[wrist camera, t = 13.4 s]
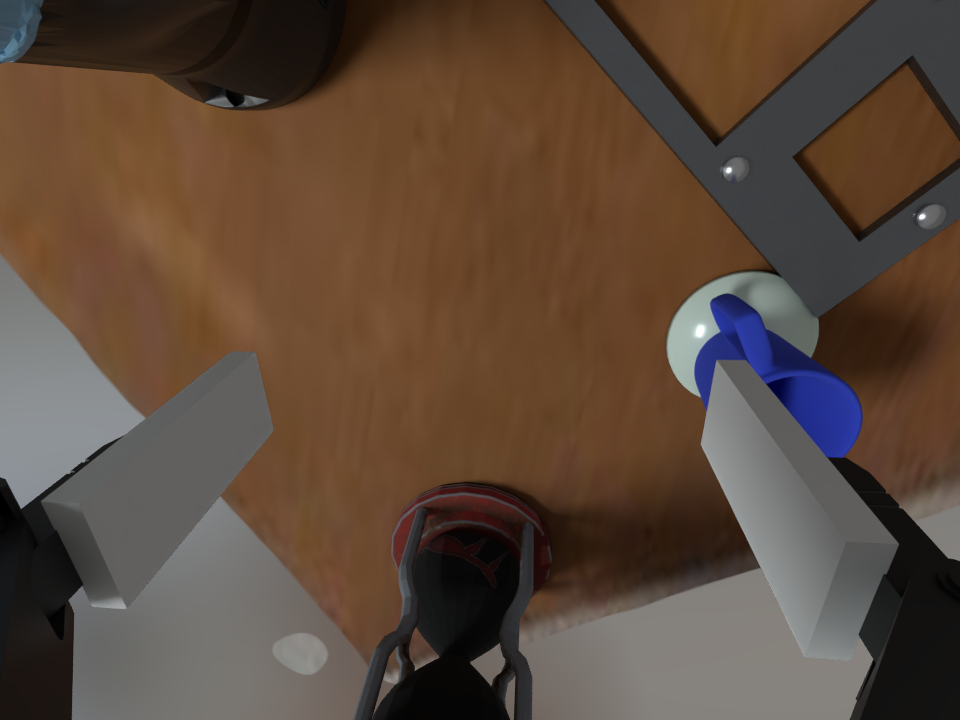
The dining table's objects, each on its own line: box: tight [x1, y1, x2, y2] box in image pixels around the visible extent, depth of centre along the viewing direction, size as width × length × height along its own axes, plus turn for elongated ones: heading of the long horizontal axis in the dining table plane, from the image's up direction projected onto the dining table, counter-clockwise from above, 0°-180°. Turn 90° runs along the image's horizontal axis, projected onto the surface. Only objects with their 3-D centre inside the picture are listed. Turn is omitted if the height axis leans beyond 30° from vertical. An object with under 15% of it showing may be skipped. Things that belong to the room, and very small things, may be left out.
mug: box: [694, 293, 863, 458], centre depth 36 cm, size 8×12×10 cm
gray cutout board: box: [543, 0, 960, 318], centre depth 32 cm, size 30×18×1 cm, turn 47°
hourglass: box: [353, 483, 552, 720], centre depth 42 cm, size 16×16×25 cm
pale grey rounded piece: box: [666, 270, 819, 397], centre depth 41 cm, size 11×11×1 cm
